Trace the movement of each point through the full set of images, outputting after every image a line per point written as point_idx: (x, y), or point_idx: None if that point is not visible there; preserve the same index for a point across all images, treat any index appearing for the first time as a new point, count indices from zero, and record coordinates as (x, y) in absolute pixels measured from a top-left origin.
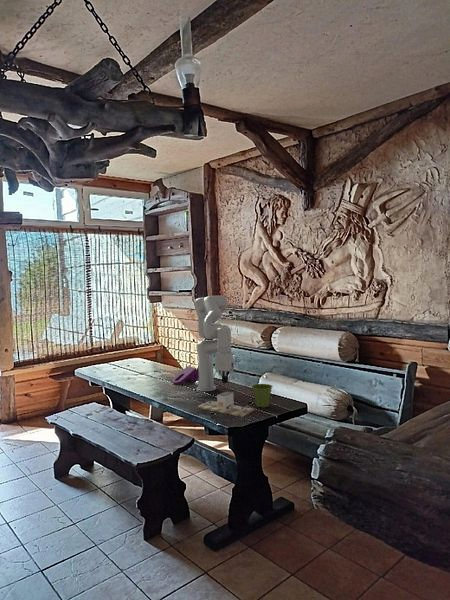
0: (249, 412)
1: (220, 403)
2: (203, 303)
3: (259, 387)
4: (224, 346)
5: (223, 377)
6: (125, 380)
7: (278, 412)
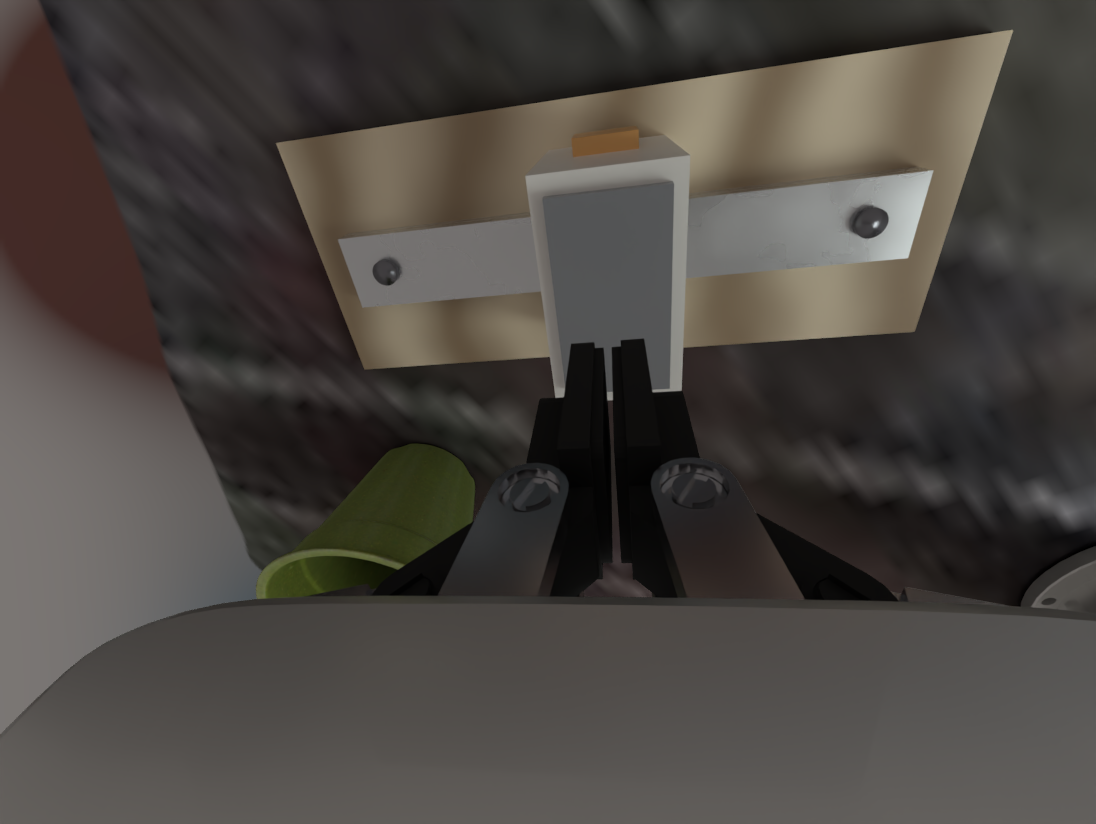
0: (336, 283)
1: (601, 133)
2: None
3: None
4: None
5: (614, 429)
6: None
7: (230, 426)
